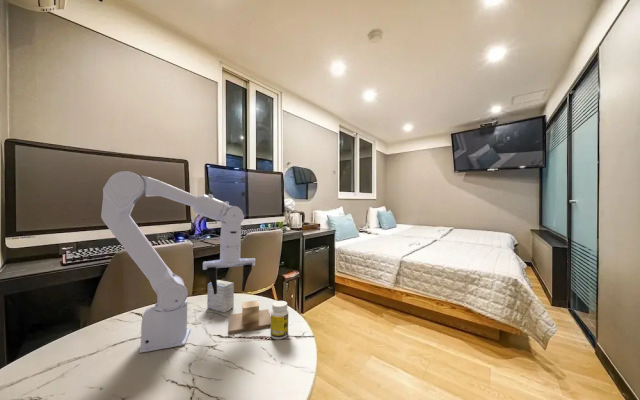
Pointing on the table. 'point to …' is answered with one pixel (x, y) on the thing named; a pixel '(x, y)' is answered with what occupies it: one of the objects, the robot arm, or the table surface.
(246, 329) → the walnut board
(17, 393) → the table surface
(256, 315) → the oak cube
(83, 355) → the table surface
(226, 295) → the medicine box
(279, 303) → the supplement bottle
